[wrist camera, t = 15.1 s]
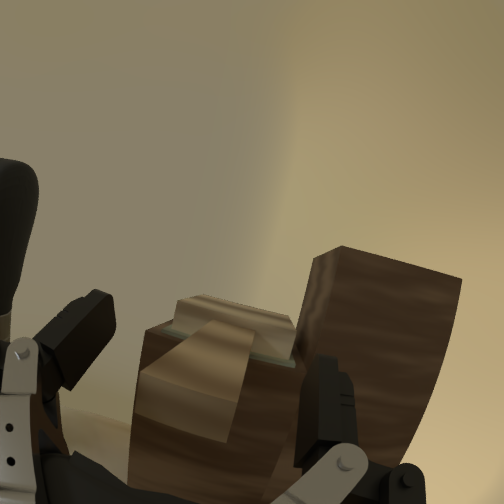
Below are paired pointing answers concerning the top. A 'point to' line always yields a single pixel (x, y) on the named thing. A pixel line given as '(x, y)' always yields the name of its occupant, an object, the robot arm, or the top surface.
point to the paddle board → (209, 364)
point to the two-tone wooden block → (292, 375)
